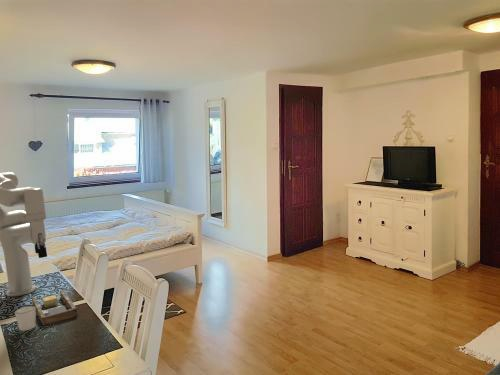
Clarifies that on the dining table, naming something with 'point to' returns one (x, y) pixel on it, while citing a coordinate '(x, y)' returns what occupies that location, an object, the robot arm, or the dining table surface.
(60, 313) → the brown wooden tray
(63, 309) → the counterweight
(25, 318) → the white cylinder
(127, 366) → the dining table surface
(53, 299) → the yellow square block
